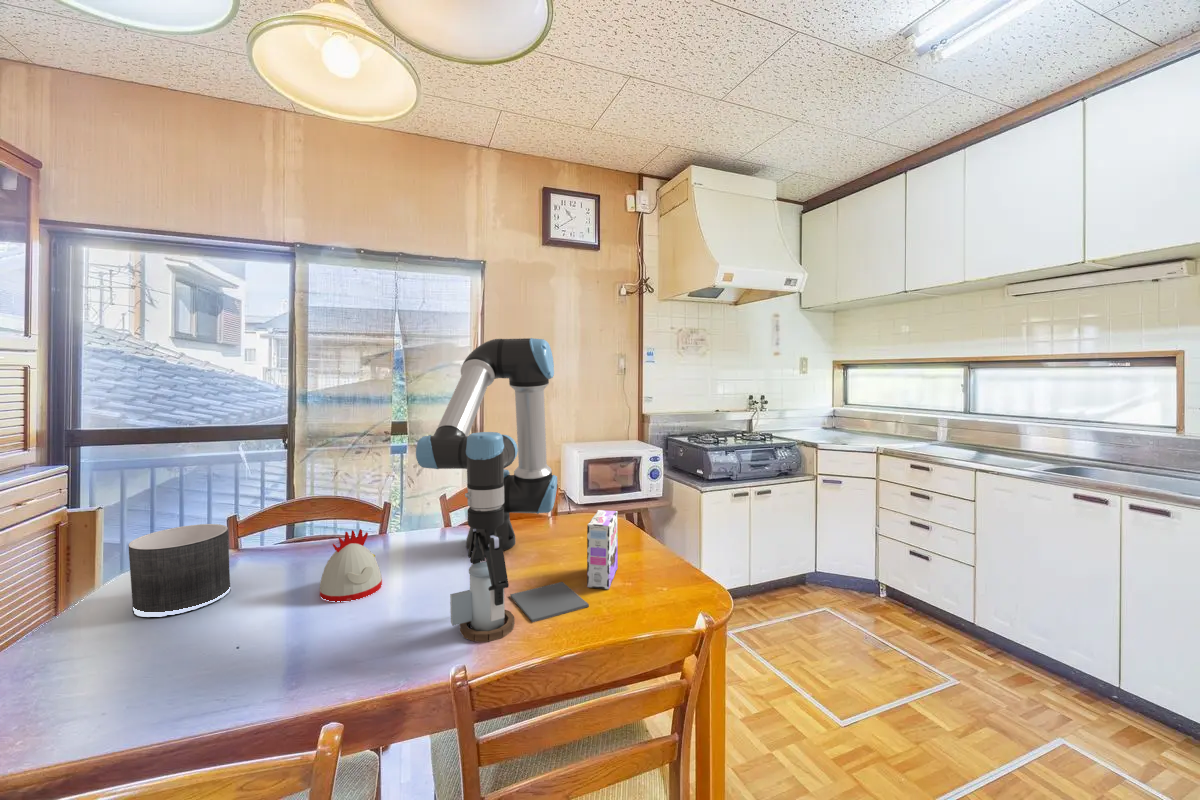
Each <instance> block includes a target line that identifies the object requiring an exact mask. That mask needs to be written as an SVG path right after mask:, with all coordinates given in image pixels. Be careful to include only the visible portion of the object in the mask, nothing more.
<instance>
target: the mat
mask: <svg viewBox="0 0 1200 800" xmlns="http://www.w3.org/2000/svg"><path fill="white" fill-rule="evenodd" d="M509 595H510V596H509V597H510V599H512V601H513V602H514V603H515V604H516V605H517V606H518V607H519V609H520V610H521V611H522V612H523V613H524V615H525V616H526V617H527V618H528V619H529V620H530V621H531V623H535V622H539V621H542V620H546V619H550V618H553V617H557V616H560V615H564V614H567V613H571V612H575V611H579V610H582V609H585V608H589V605H590V604H589V603H588V602H587V601H586V600H584V599H583V598H582V597H581V596H580V595H579V594H577V593H576V592H575V591H574V590H573V589H572V588H570V587H569V586H568V585H567V584H565V582H564V581H560V582H556V583H555V582H554V583H551V584H548V585H544V586H539V587H535V588H530V589H526V590H523V591H519V592H515V593H510V594H509Z"/></svg>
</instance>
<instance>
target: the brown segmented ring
mask: <svg viewBox="0 0 1200 800" xmlns="http://www.w3.org/2000/svg"><path fill="white" fill-rule="evenodd" d="M504 610H505V618H504V621H506V623H504V625H503V626H502V627H500V628H498V629H495V630H491V631H475V630H472V629H471V628H470V627H469V626H470V625H471V621H469V622H465V623H461V624H459V631H460V634H461V636H462V637H463V638H464V639H467V640H469V641H471V642H475V643H476V642H477V643H479V642H480V643H481V642H482V643H483V642H484V643H485V642H486V643H487V642H492V641H496V640H499V639H503V638H504V637H506V636H507V635H509V634H511V632H513V630H514V626H515V624H516V623H515V615H513V613H512V611H510V610H507V609H505V608H504Z"/></svg>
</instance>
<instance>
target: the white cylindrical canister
mask: <svg viewBox="0 0 1200 800" xmlns="http://www.w3.org/2000/svg"><path fill="white" fill-rule="evenodd" d="M468 574H469V589H468V590H464V591H458V592H454V593H450V596H449V597H450V599H449V600H450V602H449V603H450V624H451V626H458V625H460V624H461V623H465V622H469V621H471V624H470V629H472V630H475V631H491V630H495V629H498V628H500V627H502V626H503V625H505V619H504V618H502V619H498V620H494V621H491V620H490V591H489V590H488V588H489V587H490V586H491V581H490V576H489V571H488V567H487V562H486V560H485V561H481V562H479V563H476V564H474V565H472V566H471V565H470V567H468Z"/></svg>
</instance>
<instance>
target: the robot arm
mask: <svg viewBox="0 0 1200 800" xmlns="http://www.w3.org/2000/svg"><path fill="white" fill-rule="evenodd" d="M460 375H461V376H460V378H459V381H458V383H457V385H456V387H455V389H454V391H453V393H452V396H451V398H450V400H449V402H448V404H447V407H446V409H445V410H444V412H443V415H442V417H441V419H440V422H439V424H438V426H437V428H436V430H435V432H434V434H433V435H432V434H430V435H424V436H422V437H420V438H419V440H417V444H416V446H415V459H416V461H417V464H418V465H419V467H421V468H424V469H434V470H440V469H442V470H448V469H449V470H453V469H454V470H455V469H456V470H457V469H459V470H460V469H462V470H466V487H467V488H466V489H467V492H465V493H464V497H465V498H467V506H468V508H467V513H466V514H467V525H468V527H469V530H468V533H467V536H466V543H465V544H466V545H465V547H466V549H467V550H468V553H467V556H468V559H470V560H469V562H470V563H471V565H470V567H471V566H472V565H474V564H476V563H479V562H484V561H486V562H487V567H488V571H489V576H490V581H491V586H490V587H489V588H488V590H489V591H490V620H491V621H494V620H498V619H502V618H505V610H506V609H505V589H508V588H509V586H510V583H509V578H508V573H507V566H506V559H505V554H504V553H505V552H504V551H506V550H509V549H512V548H513V547H514V546H515V545H516V534H515V530H514V528H513V525H512V523H511V519H510V517H511V516H510V514H537V515H538V514H548V513H551V511H552V510H553V508H554V505H555V501H556V498H557V497H556V495H557V491H558V490H557V489H558V476H557V475H555V474H553V472H552V471H553V469H552V468H551V466H549V465H548V464H547V441H546V439H547V438H546V435H547V434H546V412H545V411H546V410H545V409H546V408H545V405H546V404H545V389H546V388H547V387H548V386H549V384H550V379H553V378H554V375H555V364H554V357H553V353H552V348H551V345H550V343H549V342H548V341H547V340H545V339H544V338H543V339H542V338H533V337H530V338H529V337H528V338H494V339H490V340H488V341H486V342H484V343H482V344H480V345H479V346H477V347H476V348H475V349H474V350H473V351H471V352H470V353H469V354H468V355H467V356H466V358H465V359H464V361H463V363H462V365H461V367H460ZM495 379H508V382H509V383H508V384H509V387H511V388H512V389H513V391H514V395H515V396H514V401H515V402H514V403H515V416H516V418H515V419H516V420H515V421H516V436H517V437H516V438H517V441H515V439H514V438H513V437H511V436H509V435H507V434H501V433H500V432H494V431H481V432H479V431H478V432H472V433H471V434H470V431H471V430H472V426H473V425H474V422H475V420H476V416H477V414H478V412H479V409H480V407H481V404H482V402H483V399H484V396H485V393H486V391H487V389H488V387H489V386H491V385H492V384H493V382H494V381H495ZM516 442H517V443H516ZM516 458H518V460H517V461H518V466H517V467H516V468H515V470H514V471H513V474H511V473H510V471H509V469H506V468H507V467H509V466H511V465H512V464H513V462H514V461H515V459H516ZM504 609H505V610H504Z"/></svg>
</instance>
